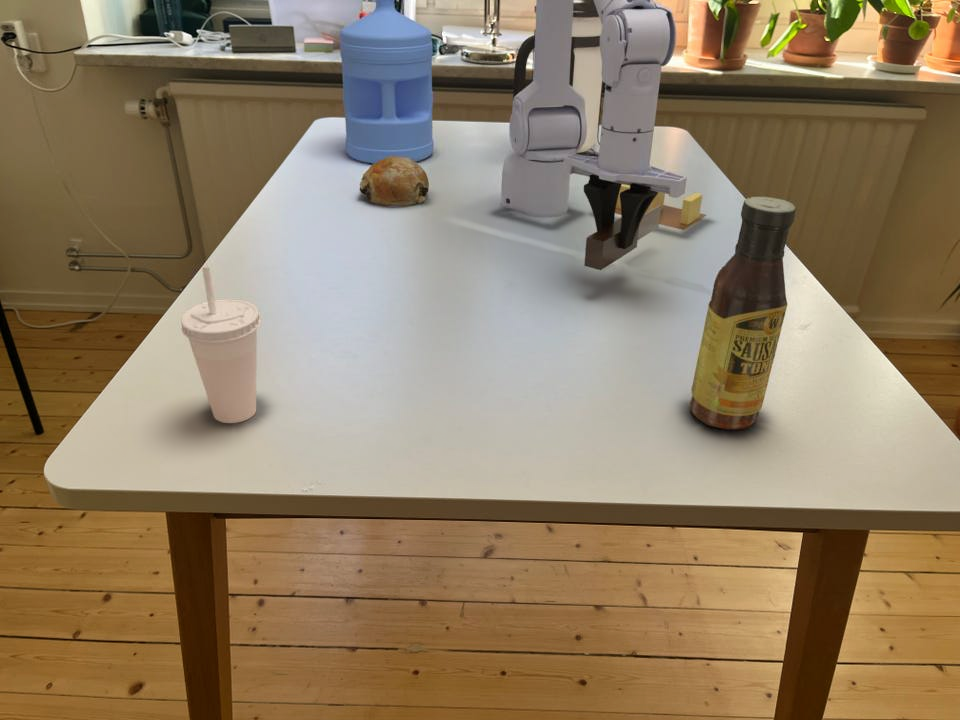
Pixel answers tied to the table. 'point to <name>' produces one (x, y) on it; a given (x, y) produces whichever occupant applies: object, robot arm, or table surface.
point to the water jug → (387, 86)
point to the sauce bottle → (744, 319)
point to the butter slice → (691, 208)
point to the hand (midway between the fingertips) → (615, 243)
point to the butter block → (657, 201)
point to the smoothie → (225, 352)
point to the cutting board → (671, 217)
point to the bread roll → (395, 182)
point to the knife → (616, 240)
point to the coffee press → (576, 65)
